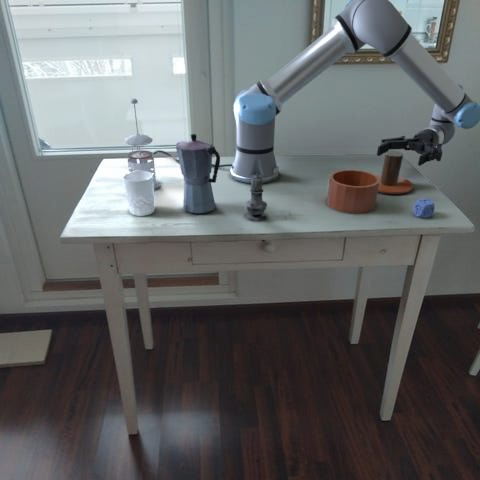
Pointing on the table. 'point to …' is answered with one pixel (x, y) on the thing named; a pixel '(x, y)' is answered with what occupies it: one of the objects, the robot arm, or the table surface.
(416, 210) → the decorative dice
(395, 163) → the lid
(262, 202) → the salt shaker
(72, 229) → the table surface
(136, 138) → the french press
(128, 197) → the white cup
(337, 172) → the pot
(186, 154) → the moka pot
